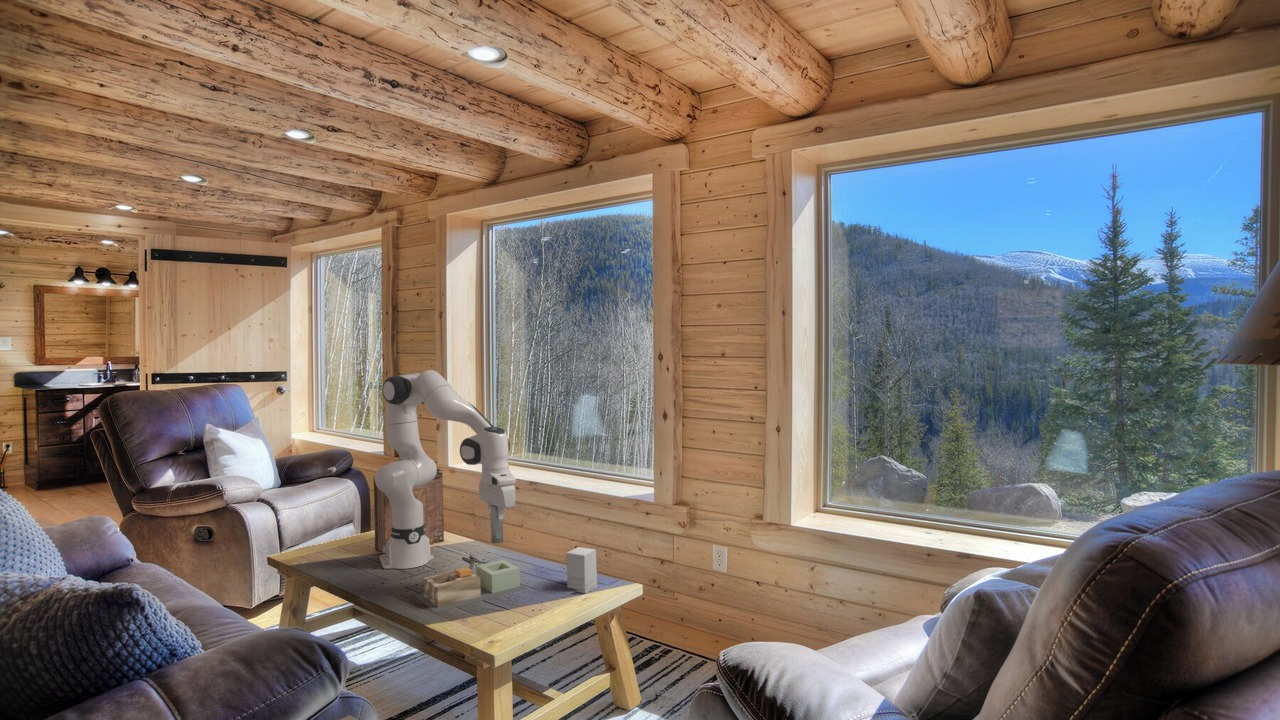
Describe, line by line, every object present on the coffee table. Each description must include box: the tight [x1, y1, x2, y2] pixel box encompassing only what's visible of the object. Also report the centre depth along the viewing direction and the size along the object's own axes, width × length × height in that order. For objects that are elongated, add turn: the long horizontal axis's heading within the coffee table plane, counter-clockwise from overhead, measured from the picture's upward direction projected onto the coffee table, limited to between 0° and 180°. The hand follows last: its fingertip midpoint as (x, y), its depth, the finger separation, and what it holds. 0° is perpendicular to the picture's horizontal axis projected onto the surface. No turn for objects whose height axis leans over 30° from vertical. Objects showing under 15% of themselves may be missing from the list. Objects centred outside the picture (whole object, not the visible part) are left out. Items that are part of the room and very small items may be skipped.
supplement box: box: [565, 546, 598, 594], centre depth 224 cm, size 7×7×13 cm
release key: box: [454, 566, 473, 577], centre depth 219 cm, size 4×4×6 cm
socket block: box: [423, 570, 481, 607], centre depth 217 cm, size 12×14×6 cm
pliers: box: [462, 555, 488, 570], centre depth 251 cm, size 10×1×20 cm
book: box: [373, 468, 445, 554], centre depth 276 cm, size 25×9×30 cm, turn 135°
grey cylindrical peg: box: [489, 505, 504, 544], centre depth 226 cm, size 4×4×12 cm
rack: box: [475, 559, 521, 593], centre depth 226 cm, size 12×10×6 cm
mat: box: [414, 583, 529, 613], centre depth 221 cm, size 19×31×1 cm, turn 128°
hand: (496, 517), depth 226 cm, fingers closed on grey cylindrical peg, 4 cm apart
